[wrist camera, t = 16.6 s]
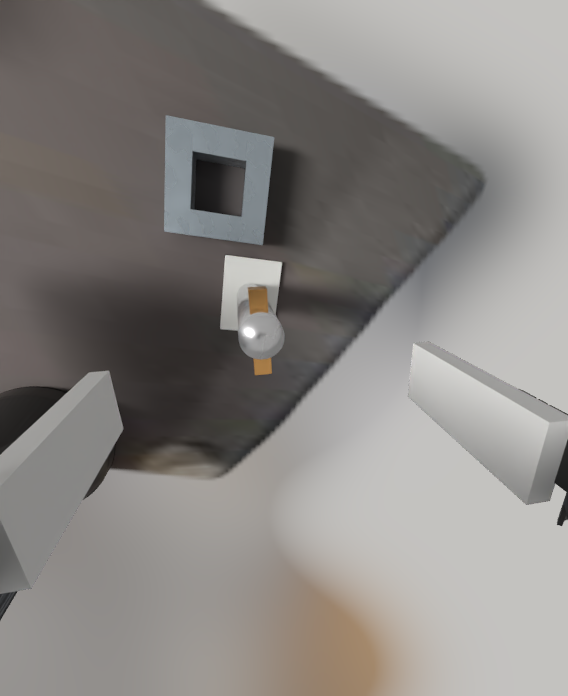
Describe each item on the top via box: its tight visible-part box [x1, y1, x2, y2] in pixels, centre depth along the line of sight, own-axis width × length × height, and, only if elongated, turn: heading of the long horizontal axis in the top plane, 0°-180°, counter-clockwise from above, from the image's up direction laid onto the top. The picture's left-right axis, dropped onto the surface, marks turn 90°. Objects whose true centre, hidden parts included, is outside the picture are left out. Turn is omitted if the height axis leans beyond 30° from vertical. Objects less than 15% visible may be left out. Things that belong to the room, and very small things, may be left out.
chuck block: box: [164, 115, 274, 245], centre depth 29 cm, size 9×9×3 cm
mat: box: [220, 255, 282, 331], centre depth 35 cm, size 8×6×1 cm
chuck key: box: [237, 283, 285, 375], centre depth 27 cm, size 3×6×15 cm, turn 3°
